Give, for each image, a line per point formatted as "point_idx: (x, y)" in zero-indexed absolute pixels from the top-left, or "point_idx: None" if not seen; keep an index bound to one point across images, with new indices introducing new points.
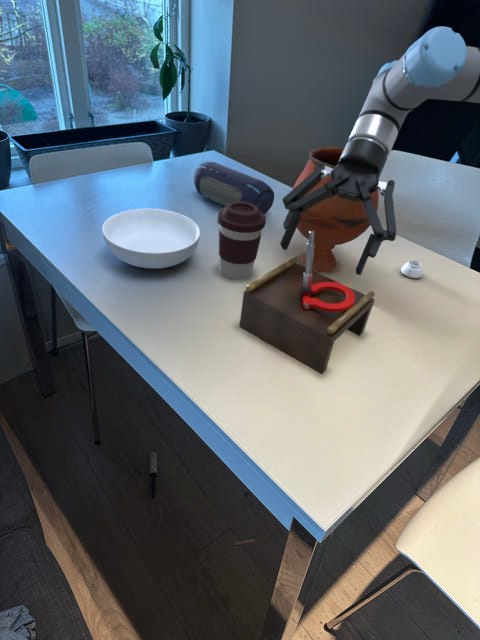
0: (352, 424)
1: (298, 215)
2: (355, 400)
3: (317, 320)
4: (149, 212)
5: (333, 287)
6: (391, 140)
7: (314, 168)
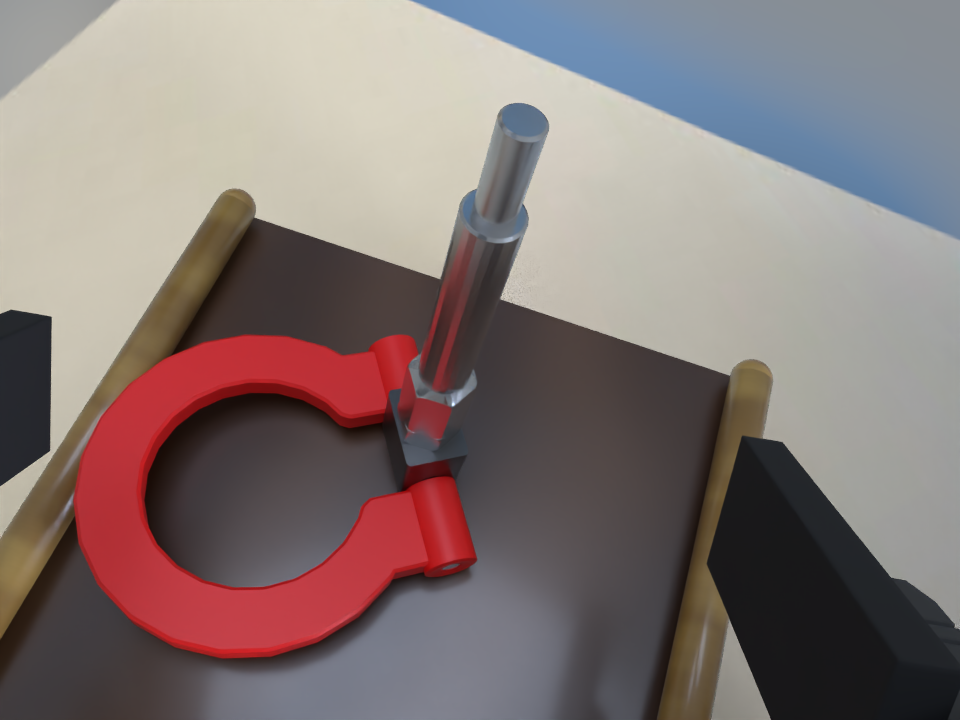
0: (140, 159)
1: (860, 694)
2: (122, 254)
3: (315, 305)
4: None
5: (242, 589)
6: None
7: None
